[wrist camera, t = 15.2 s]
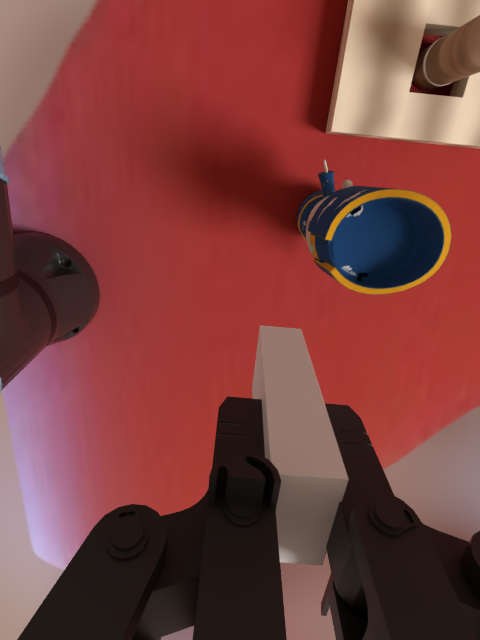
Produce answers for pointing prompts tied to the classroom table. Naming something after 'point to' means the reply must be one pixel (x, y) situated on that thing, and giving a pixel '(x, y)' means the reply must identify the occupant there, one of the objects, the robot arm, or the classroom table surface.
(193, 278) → the classroom table surface
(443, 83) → the peg
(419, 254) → the blue tall vessel
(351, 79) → the board
